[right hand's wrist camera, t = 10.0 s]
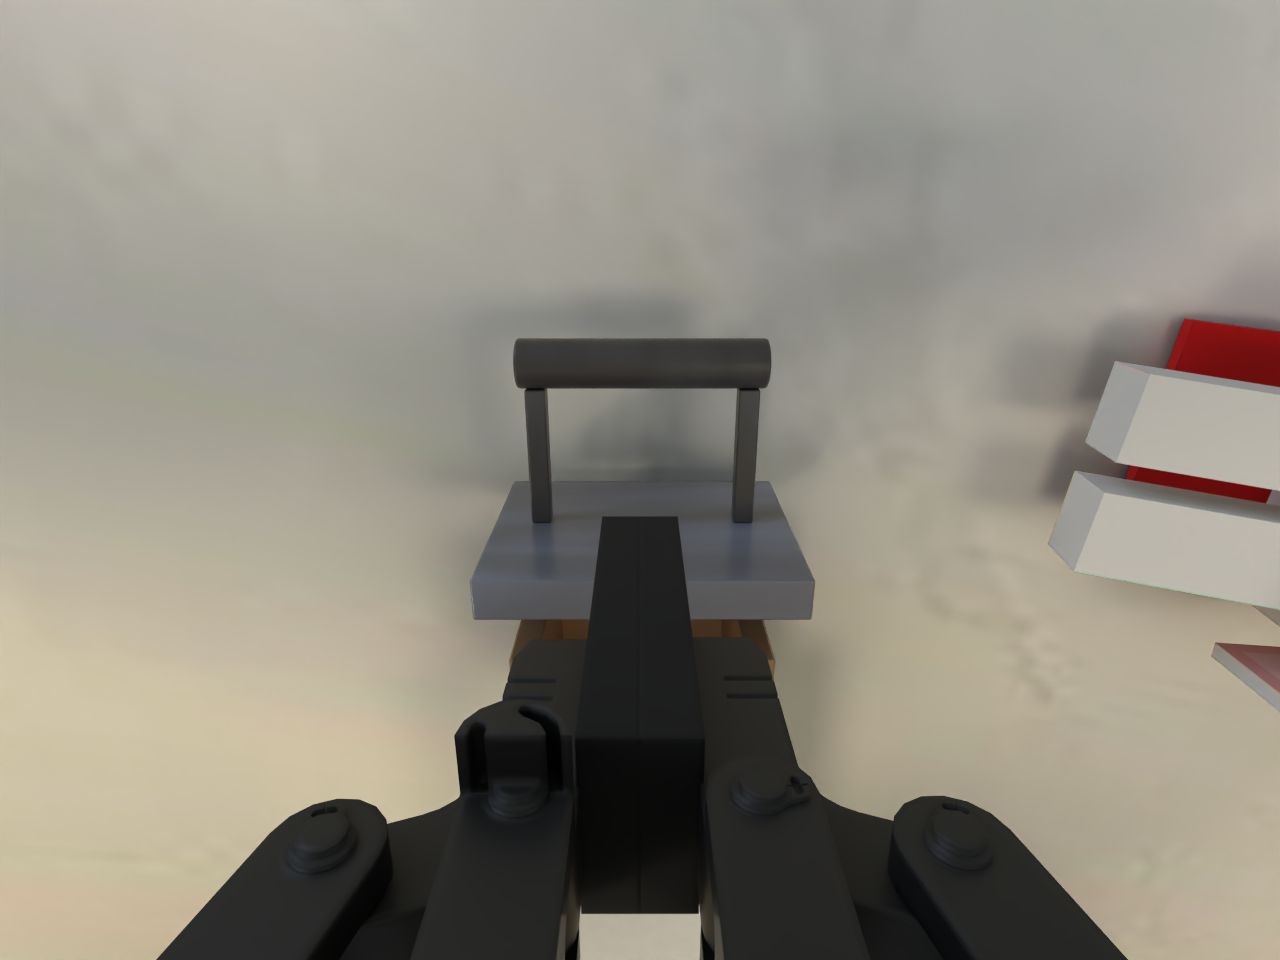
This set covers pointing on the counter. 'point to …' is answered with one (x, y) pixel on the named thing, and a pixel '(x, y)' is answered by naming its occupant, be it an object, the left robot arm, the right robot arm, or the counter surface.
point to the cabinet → (640, 936)
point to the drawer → (642, 502)
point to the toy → (1190, 482)
